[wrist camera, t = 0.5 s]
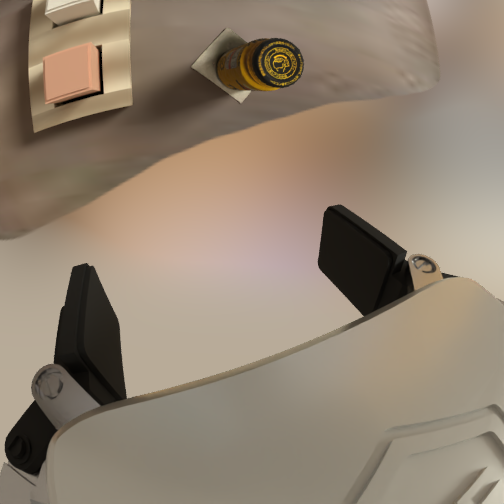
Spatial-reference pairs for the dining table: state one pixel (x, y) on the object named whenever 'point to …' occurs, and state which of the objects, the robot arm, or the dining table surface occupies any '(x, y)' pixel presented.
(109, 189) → the dining table surface
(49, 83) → the terracotta key
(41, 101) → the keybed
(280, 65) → the condiment
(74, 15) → the ivory key
